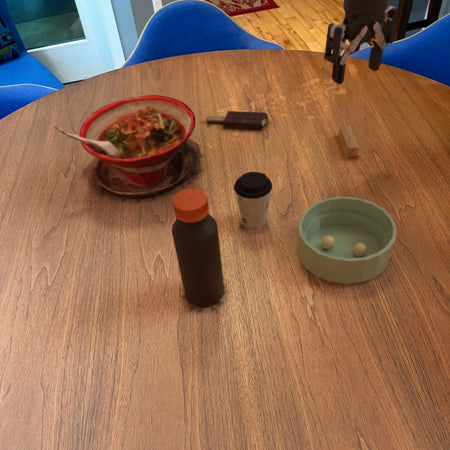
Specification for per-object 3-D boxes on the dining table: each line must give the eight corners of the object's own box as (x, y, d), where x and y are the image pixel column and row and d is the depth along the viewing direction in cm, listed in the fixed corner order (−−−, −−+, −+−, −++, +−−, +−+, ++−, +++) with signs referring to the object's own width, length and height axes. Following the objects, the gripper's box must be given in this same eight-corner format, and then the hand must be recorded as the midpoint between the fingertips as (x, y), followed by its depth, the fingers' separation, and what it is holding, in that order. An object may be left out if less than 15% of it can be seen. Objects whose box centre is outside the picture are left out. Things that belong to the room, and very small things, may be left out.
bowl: (376, 218, 91) (382, 192, 86) (400, 281, 80) (408, 256, 76) (291, 226, 91) (292, 200, 87) (304, 289, 81) (306, 264, 76)
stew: (79, 221, 96) (51, 151, 84) (78, 156, 112) (54, 89, 100) (215, 195, 99) (207, 124, 86) (195, 135, 114) (186, 67, 102)
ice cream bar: (204, 127, 116) (265, 130, 113) (203, 121, 115) (265, 124, 112) (209, 116, 119) (268, 118, 117) (208, 109, 118) (268, 112, 115)
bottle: (211, 313, 79) (198, 220, 63) (177, 300, 81) (156, 207, 66) (231, 286, 82) (223, 191, 67) (198, 273, 85) (182, 179, 70)
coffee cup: (239, 237, 90) (236, 194, 82) (233, 214, 95) (230, 171, 87) (275, 231, 90) (276, 188, 83) (268, 208, 95) (267, 165, 87)
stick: (348, 134, 110) (350, 124, 108) (357, 156, 104) (359, 147, 102) (338, 135, 110) (339, 125, 108) (346, 157, 104) (348, 148, 102)
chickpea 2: (364, 249, 85) (366, 239, 83) (367, 258, 84) (369, 248, 82) (350, 250, 85) (352, 240, 83) (353, 260, 84) (355, 250, 82)
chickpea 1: (332, 242, 87) (334, 232, 85) (335, 251, 85) (336, 241, 83) (319, 243, 87) (320, 233, 85) (321, 252, 85) (323, 242, 83)
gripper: (350, -7, 74) (338, 95, 86) (419, -28, 78) (398, 72, 90) (320, -19, 78) (313, 79, 91) (386, -39, 82) (371, 58, 95)
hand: (355, 75), depth 91 cm, fingers open, 8 cm apart
